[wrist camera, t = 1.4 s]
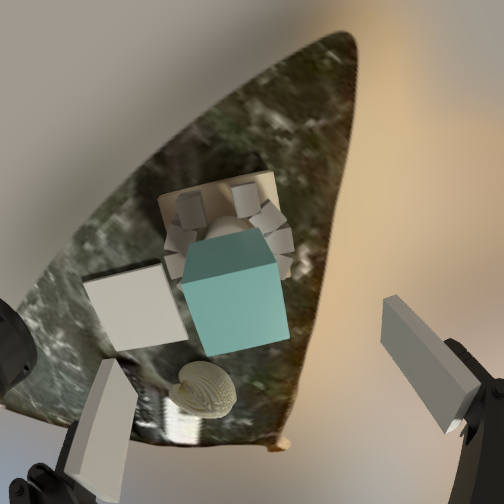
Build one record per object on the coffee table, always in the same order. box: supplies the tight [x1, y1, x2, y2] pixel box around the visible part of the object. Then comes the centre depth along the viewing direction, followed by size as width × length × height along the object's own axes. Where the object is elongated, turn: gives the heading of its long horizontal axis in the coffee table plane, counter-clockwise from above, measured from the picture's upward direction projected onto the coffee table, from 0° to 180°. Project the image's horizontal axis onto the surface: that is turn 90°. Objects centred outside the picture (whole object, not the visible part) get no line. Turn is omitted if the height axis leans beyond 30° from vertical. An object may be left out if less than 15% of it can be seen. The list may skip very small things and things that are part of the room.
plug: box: [181, 215, 290, 357], centre depth 22 cm, size 7×5×13 cm
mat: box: [83, 263, 188, 351], centre depth 32 cm, size 10×10×1 cm
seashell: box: [169, 361, 236, 418], centre depth 35 cm, size 8×8×8 cm
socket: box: [157, 170, 294, 292], centre depth 28 cm, size 11×11×6 cm
